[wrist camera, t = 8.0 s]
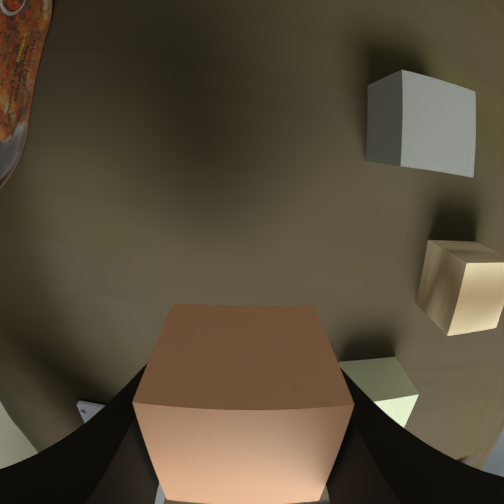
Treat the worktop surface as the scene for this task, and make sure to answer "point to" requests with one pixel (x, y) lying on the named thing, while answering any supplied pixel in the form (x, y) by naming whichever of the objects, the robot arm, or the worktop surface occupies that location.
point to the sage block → (384, 385)
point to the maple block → (461, 286)
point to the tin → (19, 73)
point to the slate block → (421, 123)
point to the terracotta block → (243, 404)
